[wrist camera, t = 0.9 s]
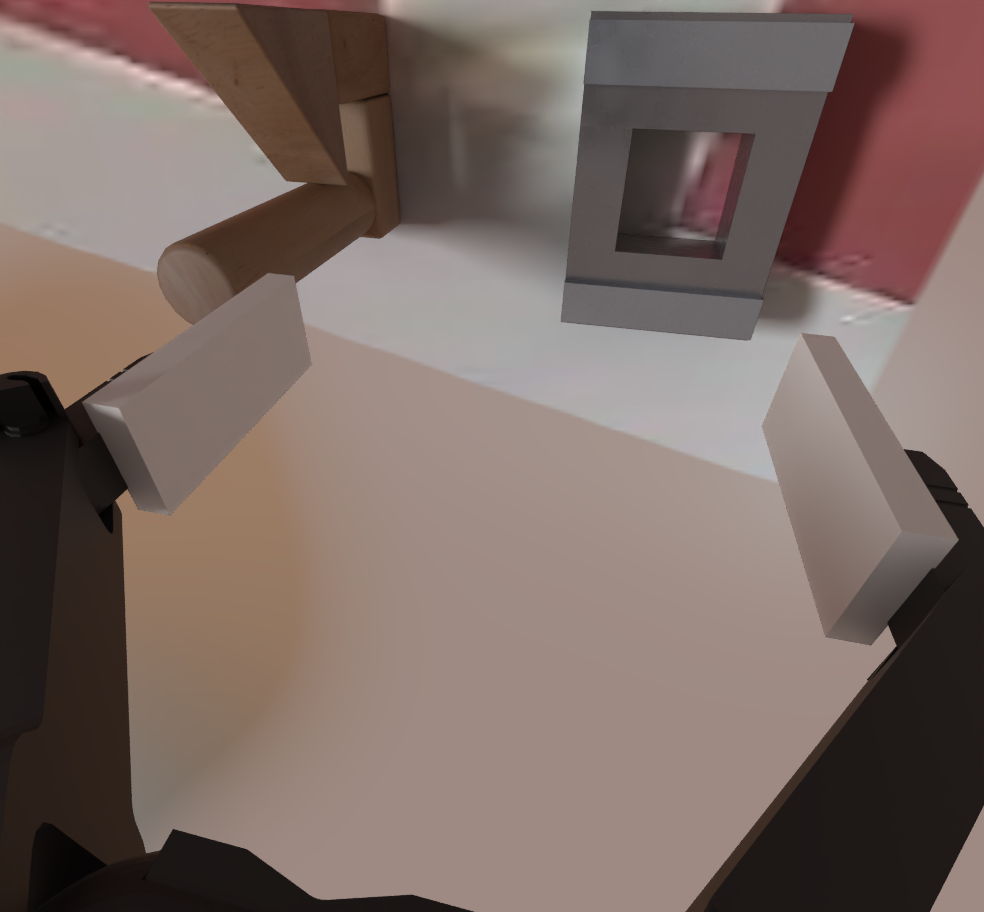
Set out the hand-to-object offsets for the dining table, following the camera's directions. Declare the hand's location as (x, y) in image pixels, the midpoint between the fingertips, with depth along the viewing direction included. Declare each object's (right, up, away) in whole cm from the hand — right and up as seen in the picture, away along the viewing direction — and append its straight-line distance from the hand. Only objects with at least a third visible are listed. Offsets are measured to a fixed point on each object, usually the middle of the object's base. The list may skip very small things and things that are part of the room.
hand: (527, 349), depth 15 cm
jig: (+10, +13, +17) cm, 23 cm away
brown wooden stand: (-8, +17, +18) cm, 26 cm away
